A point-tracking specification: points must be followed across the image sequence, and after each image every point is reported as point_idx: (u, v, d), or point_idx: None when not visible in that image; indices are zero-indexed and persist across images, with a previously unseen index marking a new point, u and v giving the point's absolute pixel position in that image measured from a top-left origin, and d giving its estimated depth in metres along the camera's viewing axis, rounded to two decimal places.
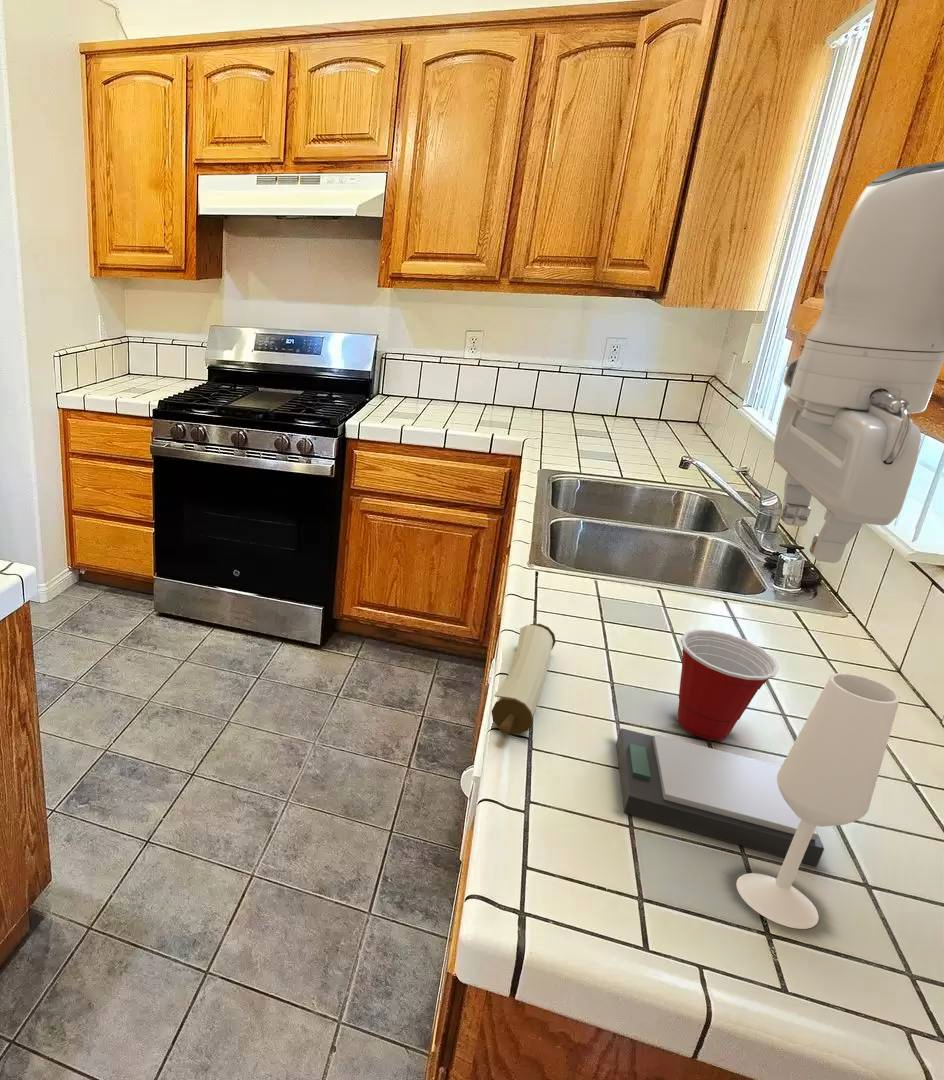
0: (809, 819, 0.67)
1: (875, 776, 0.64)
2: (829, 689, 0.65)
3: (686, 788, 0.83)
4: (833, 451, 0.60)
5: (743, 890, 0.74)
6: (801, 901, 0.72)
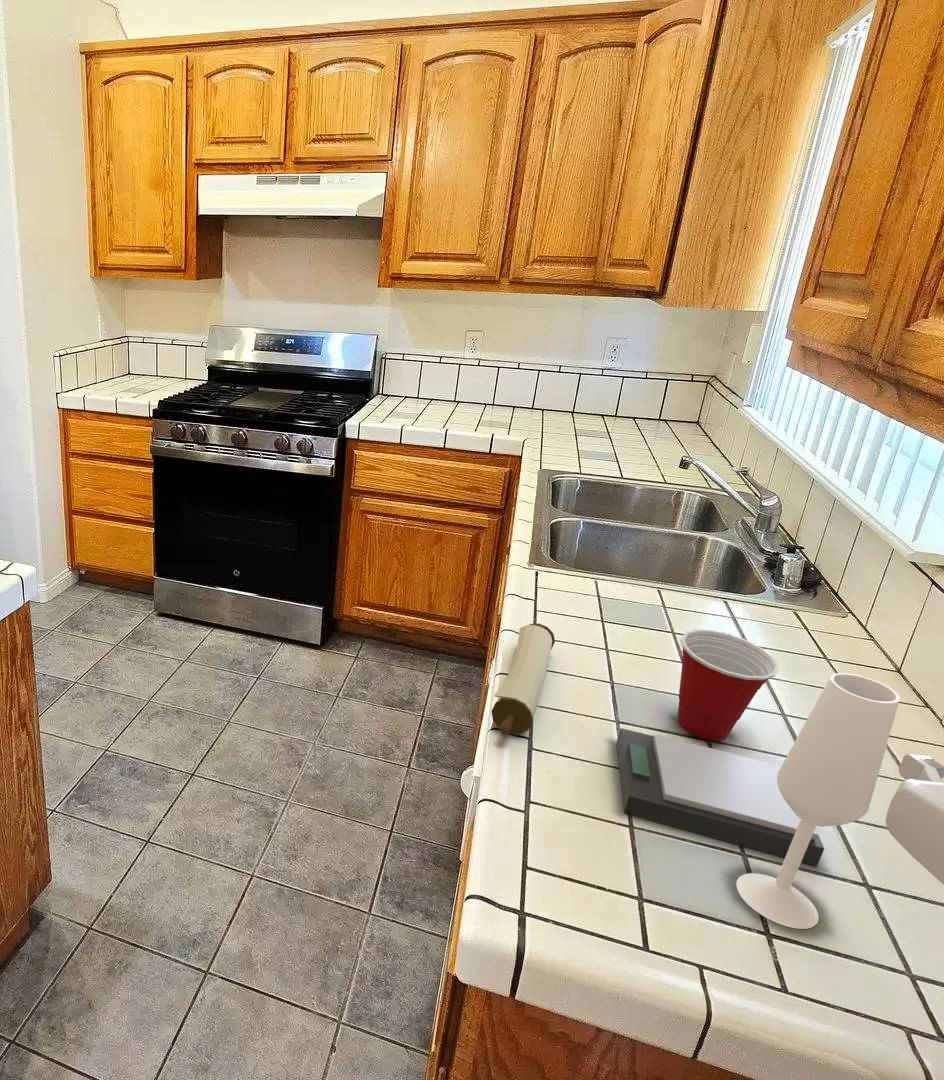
0: (809, 819, 0.67)
1: (875, 776, 0.64)
2: (829, 689, 0.65)
3: (686, 788, 0.83)
4: None
5: (743, 890, 0.74)
6: (801, 901, 0.72)
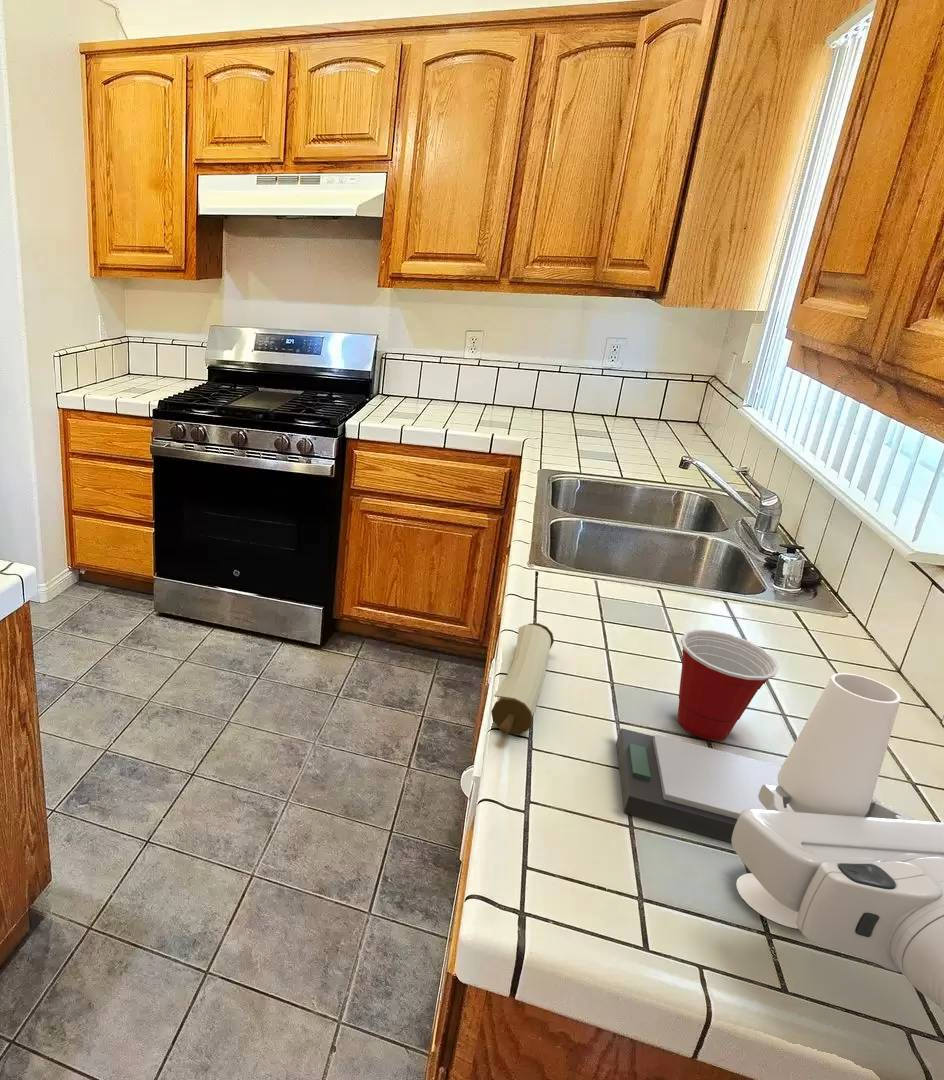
0: None
1: (876, 776, 0.64)
2: (830, 689, 0.65)
3: (686, 788, 0.83)
4: None
5: (743, 890, 0.74)
6: None
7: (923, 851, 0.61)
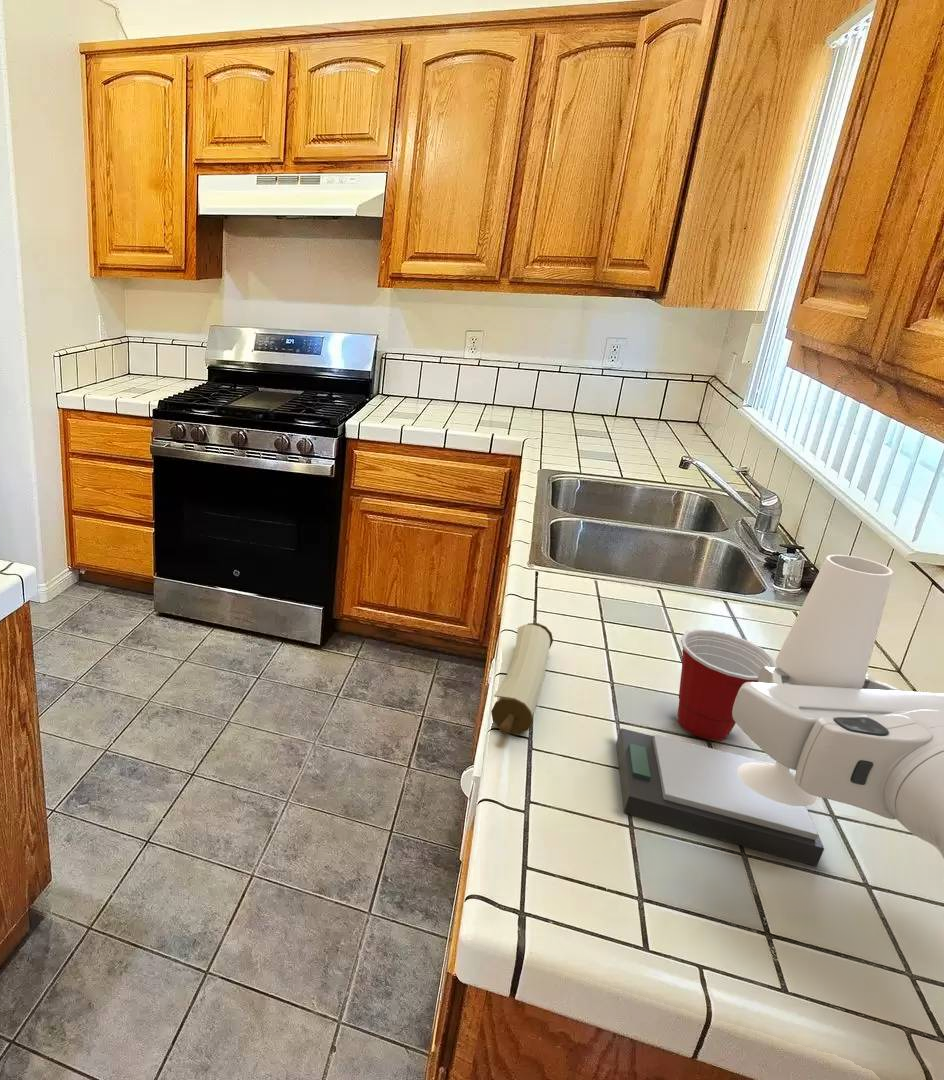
0: None
1: (870, 649, 0.67)
2: (825, 567, 0.68)
3: (686, 788, 0.83)
4: None
5: (744, 775, 0.76)
6: None
7: None
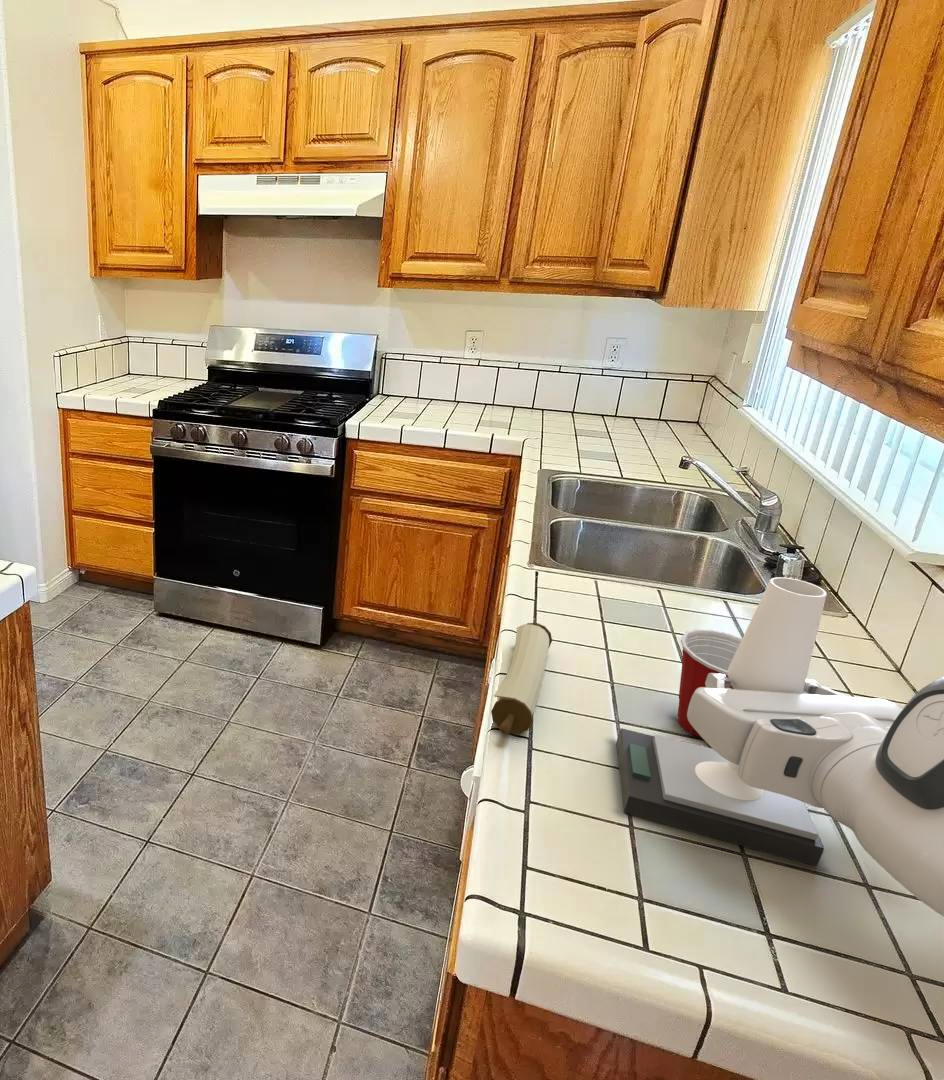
0: None
1: (807, 662, 0.76)
2: (769, 589, 0.77)
3: (686, 788, 0.83)
4: None
5: (700, 772, 0.85)
6: None
7: None
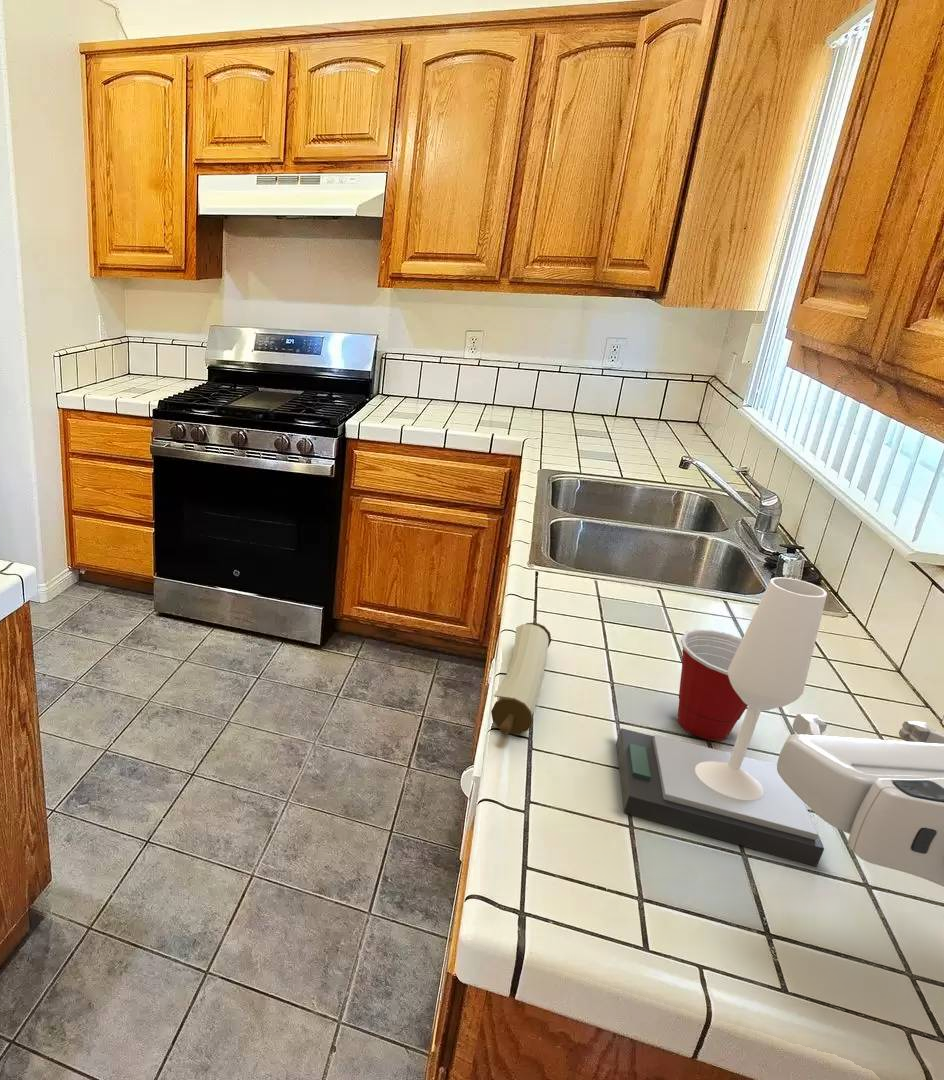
0: (753, 702, 0.79)
1: (807, 662, 0.76)
2: (769, 589, 0.77)
3: (686, 788, 0.83)
4: None
5: (700, 772, 0.85)
6: (749, 779, 0.83)
7: None
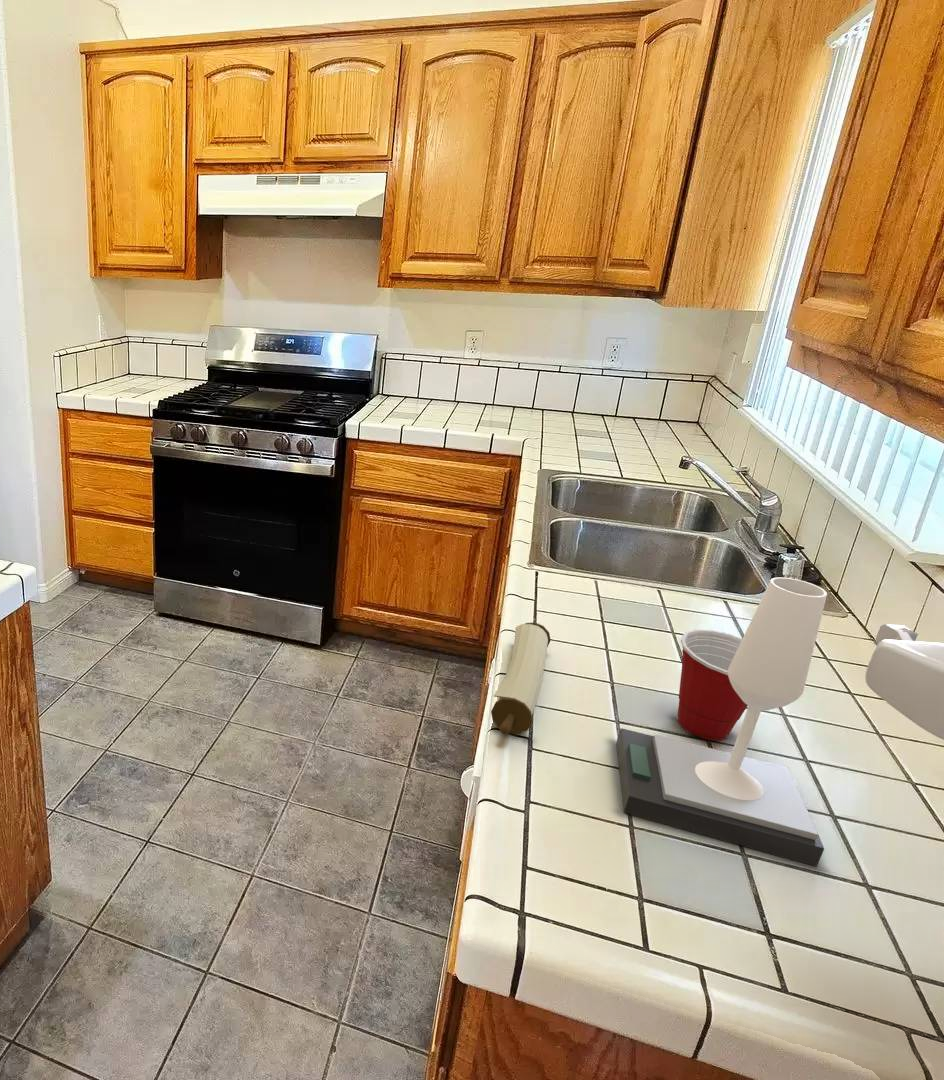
0: (753, 703, 0.79)
1: (807, 662, 0.76)
2: (769, 589, 0.77)
3: (686, 788, 0.83)
4: None
5: (700, 772, 0.85)
6: (749, 779, 0.83)
7: None
